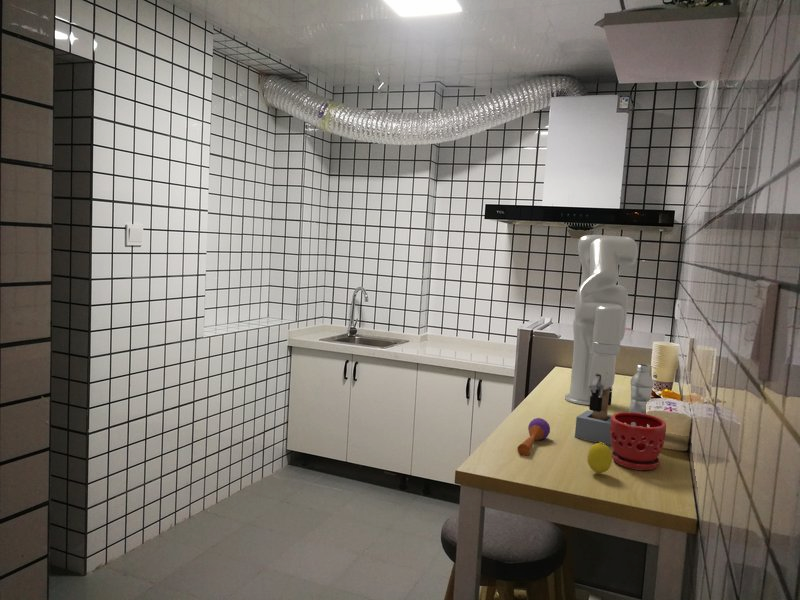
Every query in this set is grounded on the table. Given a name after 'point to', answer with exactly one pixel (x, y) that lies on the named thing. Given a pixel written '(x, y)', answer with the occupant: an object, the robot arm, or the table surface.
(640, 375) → the plastic bottle
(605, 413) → the peg
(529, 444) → the purple maraca
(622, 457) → the plant pot
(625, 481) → the table surface
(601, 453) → the lemon
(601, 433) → the socket
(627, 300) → the robot arm
